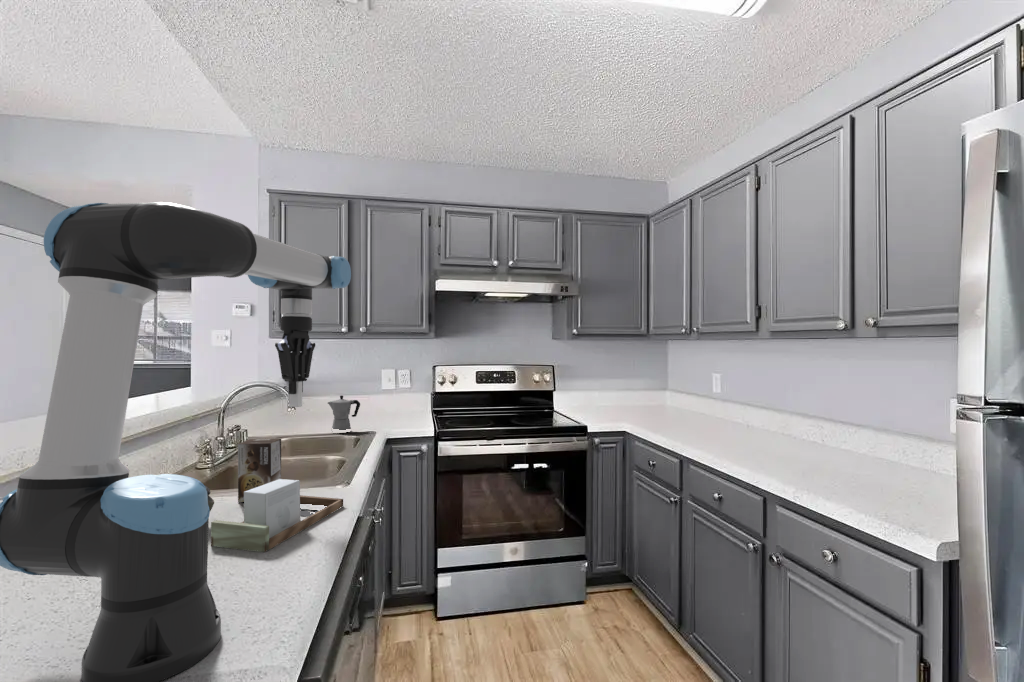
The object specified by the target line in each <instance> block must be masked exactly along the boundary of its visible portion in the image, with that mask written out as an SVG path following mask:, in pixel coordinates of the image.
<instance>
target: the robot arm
mask: <svg viewBox="0 0 1024 682" xmlns="http://www.w3.org/2000/svg"><path fill="white" fill-rule="evenodd" d="M43 248H44V252H45V255H46V256H47V257H49V258H50V260H49V263H50V264H51V265H52V266H53V268H54V269H55V270H56V271H57V272H59V274H58V278H57V283H58V284H59V285H60V286H62V288H63V289H64V290H65V291H66V292H67V293H68V295H69V296H68V297H69V298H68V302H67V306H66V307H67V308H66V312H65V318H64V325H63V327H62V328H63V329H62V335H61V339H60V345H59V349H58V355H57V361H56V366H55V371H54V377H53V382H52V386H51V392H50V398H49V403H48V408H47V413H46V419H45V424H44V430H43V435H42V439H41V445H40V450H39V456H38V460H37V462H36V463H35V464H34V465H32V466H31V467H29V468H28V469H26V470H25V471H23V472H22V473H21V474H20V475H19V478H18V482H17V488H16V489H14V490H12V491H11V492H9V493H8V494H6V495H5V496H3V498H2V502H0V567H1V568H3V569H7V570H8V571H9V570H10V571H12V572H13V571H14V572H19V573H23V574H27V575H32V576H46V575H47V576H49V575H50V576H52V575H53V576H54V575H55V576H67V577H87V578H91V577H93V578H100V579H101V580H100V585H101V586H100V591H101V592H100V610H99V614H98V617H97V620H96V622H95V625H94V627H93V631H92V634H91V637H90V639H89V642H88V645H87V646H86V649H85V651H84V653H83V655H82V658H81V681H82V682H161V681H164V680H167V679H169V678H171V677H173V676H175V675H179V674H180V673H181V672H184V671H186V670H187V669H189V668H191V667H192V666H194V665H196V664H197V663H198V662H200V661H201V660H202V659H204V658H205V657H206V656H207V655H208V654H210V653H211V652H212V651H213V650H214V648H215V647H216V646H217V645H218V643H219V641H220V639H221V634H222V618H221V614H220V611H218V609H217V605H216V602H215V599H214V596H213V594H212V592H211V589H210V587H209V584H208V560H209V559H208V558H209V557H208V556H209V553H208V552H209V551H208V550H209V525H210V523H209V517H210V513H211V511H209V506H208V496H207V491H206V487H205V486H206V485H205V486H204V483H203V482H202V481H200V480H199V479H196V478H194V477H192V476H187V475H182V474H176V473H161V474H152V473H151V474H142V475H136V476H130V477H129V475H130V469H129V468H128V467H127V466H126V465H125V464H124V463H122V462H121V461H120V458H119V457H120V451H121V447H122V439H123V432H124V426H125V420H126V414H127V408H128V401H129V395H130V388H131V382H132V377H133V376H132V375H133V371H134V364H135V358H136V353H137V345H138V341H139V340H138V339H139V334H140V333H139V332H140V328H141V321H142V314H143V308H144V306H145V305H146V304H147V303H149V302H151V301H152V300H154V299H156V298H157V297H158V291H159V285H160V280H172V279H173V280H174V279H175V280H177V279H178V280H179V279H188V278H189V279H191V278H204V277H205V278H206V277H223V278H229V279H231V278H239V277H241V276H243V275H246V276H247V277H248V279H249V281H250V282H251V283H252V284H254V285H255V286H258V287H261V288H263V289H271V290H275V291H276V290H278V291H280V314H281V315H283V316H281V317H280V322H279V324H280V330H281V331H282V332H283V335H282V338H281V341H279V342H275V343H274V344H275V345H274V346H275V349H276V351H277V354H278V359H279V367H280V368H279V369H280V372H281V379H282V380H283V381H284V382H288V395H289V397H288V399H289V400H288V402H289V403H288V407H289V408H290V407H291V408H301V407H303V391H304V382H307V381H308V378H309V377H310V373H311V366H312V359H313V355H314V350H315V348H316V343H315V342H312V341H310V336H309V335H310V334H309V332H311V331H312V330H313V318H312V317H311V316H312V315H313V289H328V290H329V289H331V290H332V289H333V290H335V289H345V288H346V287H348V286H349V285H350V282H351V278H352V269H351V265H350V263H349V260H348V259H346V257H343V256H335V255H331V256H329V255H328V256H326V255H321V254H319V253H315V252H312V251H309V250H306V249H305V250H304V249H302V248H299V247H295V246H293V245H289V244H286V243H284V242H280V241H278V240H274V239H272V238H268V237H264V236H262V235H259V234H256V233H254V232H253V231H252V230H251V229H250V228H249V227H248V226H247V225H245V224H244V223H242V222H239V221H236V220H233V219H229V218H227V217H224V216H221V215H218V214H215V213H213V212H212V213H211V212H208V211H205V210H202V209H199V208H195V207H191V206H188V205H183V204H179V203H173V202H163V201H155V202H154V201H152V202H132V203H131V202H130V203H108V202H107V203H106V202H93V203H87V204H83V205H76V206H75V205H74V206H71V207H69V208H66V209H63V210H61V211H60V212H59V213H57V214H56V215H54V217H52V219H51V220H50V221H49V222H48V225H47V226H46V228H45V231H44V234H43Z"/></svg>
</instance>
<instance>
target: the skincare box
mask: <svg viewBox="0 0 1024 682" xmlns="http://www.w3.org/2000/svg"><path fill="white" fill-rule="evenodd" d="M300 495H301V480H299V479H285V478H284V479H283V478H281V479H278V480H275V481H273V482H270V483H267V484H264V485H262V486H259V487H256V488H253V489H250V490H248V491H245V492H244V503H243V521H244V523H249V524H258V525H268V526H269V538H271V537H273V536H275V535H276V534H278V533H280V532H282V531H284V530H285V529H287V528H289V527H291V526H293V525H295V524H296V523H298V522H300V521H302V519H301V516H300Z"/></svg>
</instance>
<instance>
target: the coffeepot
mask: <svg viewBox="0 0 1024 682" xmlns="http://www.w3.org/2000/svg"><path fill="white" fill-rule="evenodd" d="M339 397H340V399H336V400H332V401H328V402H327V404H328V405H329V407H330V408H331V410H332V414H333V420H332V426H331V429H332V428H333V429H339V430H346V429H351V430H352V427H351V423H350V421H351V420H350V418H349V415H350V414H351V408H352V405H356V406H355V410H354V413H353V414H351V417H352V418H355V417H357V415H358V412H359V409H360V406H361V403H360V401H358V400H357V399H354V400H353V399H351V400H348V399H344V395H339Z"/></svg>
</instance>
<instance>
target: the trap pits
mask: <svg viewBox="0 0 1024 682" xmlns="http://www.w3.org/2000/svg"><path fill="white" fill-rule="evenodd" d="M300 509H301V508H300ZM308 511H309V510H307V511H300V517H306V516H311V515H313V513H311V514H310V512H308ZM312 512H313V511H312ZM316 512H318V511H315V513H316Z"/></svg>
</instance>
